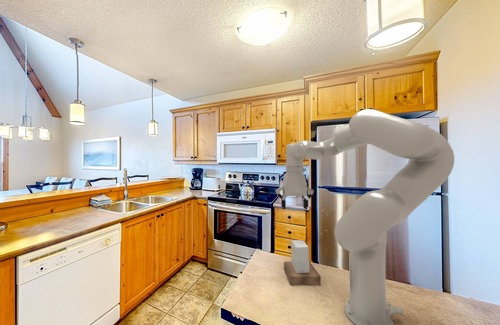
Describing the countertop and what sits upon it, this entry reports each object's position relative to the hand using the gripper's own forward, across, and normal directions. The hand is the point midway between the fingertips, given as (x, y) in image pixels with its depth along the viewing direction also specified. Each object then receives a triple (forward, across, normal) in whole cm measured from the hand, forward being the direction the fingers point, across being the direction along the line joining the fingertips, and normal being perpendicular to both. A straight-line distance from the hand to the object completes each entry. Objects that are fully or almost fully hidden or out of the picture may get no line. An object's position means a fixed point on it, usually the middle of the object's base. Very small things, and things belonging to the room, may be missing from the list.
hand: (294, 208), depth 81 cm
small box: (+25, -2, +2) cm, 25 cm away
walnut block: (+29, -2, +3) cm, 29 cm away
